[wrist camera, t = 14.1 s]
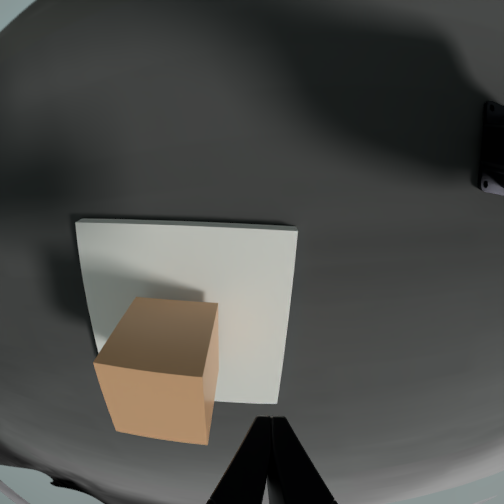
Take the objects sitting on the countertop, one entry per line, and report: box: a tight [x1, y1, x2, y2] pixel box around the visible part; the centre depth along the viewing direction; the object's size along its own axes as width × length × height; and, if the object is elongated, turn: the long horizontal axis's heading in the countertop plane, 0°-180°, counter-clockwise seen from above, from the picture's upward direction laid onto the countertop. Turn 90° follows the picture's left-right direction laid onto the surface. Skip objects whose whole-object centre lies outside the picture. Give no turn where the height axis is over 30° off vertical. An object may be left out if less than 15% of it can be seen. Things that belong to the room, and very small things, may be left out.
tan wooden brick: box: [93, 297, 219, 445], centre depth 17 cm, size 5×5×7 cm
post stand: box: [75, 218, 298, 404], centre depth 18 cm, size 14×14×8 cm
